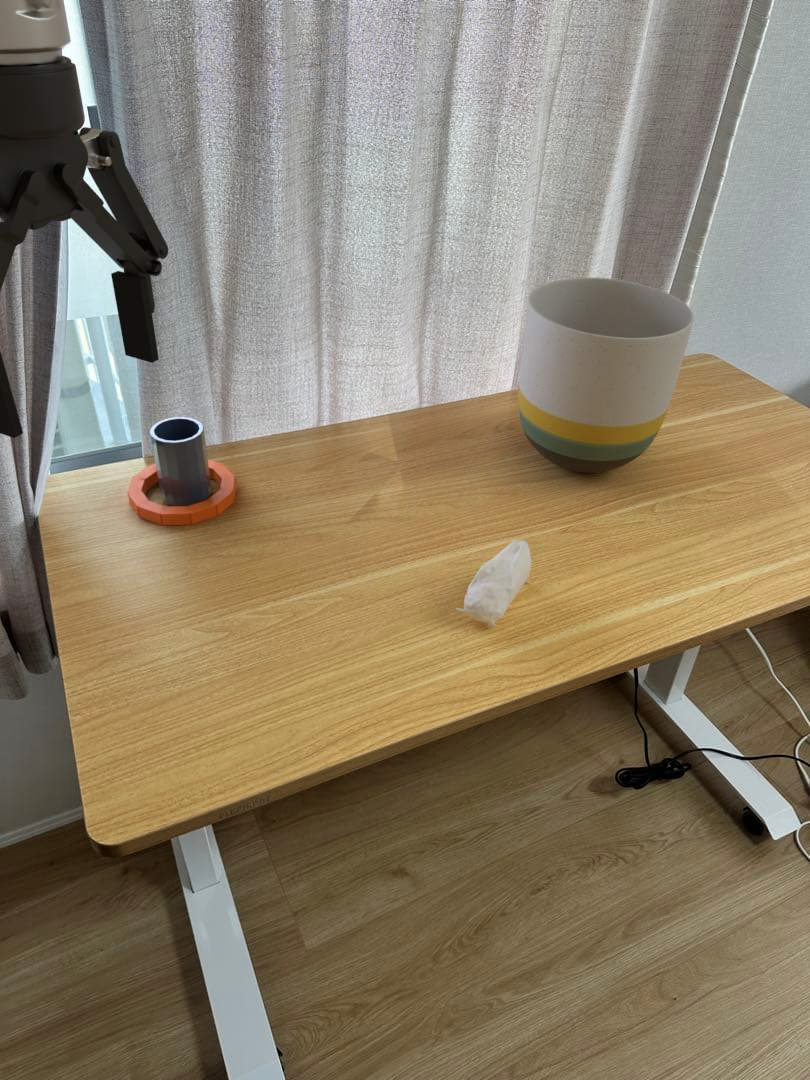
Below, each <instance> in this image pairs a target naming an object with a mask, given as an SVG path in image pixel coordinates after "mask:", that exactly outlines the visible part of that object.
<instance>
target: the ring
mask: <svg viewBox="0 0 810 1080" xmlns="http://www.w3.org/2000/svg"><path fill="white" fill-rule="evenodd" d="M208 465H209V473H210V480H211V479H212V480H215V482H216V483H217V484H218V485H219V486H220V487H219V489H218V490H217V491H216V492H215V493H214V494H213V495H211V496H210V497H209V498H208V499H207V500H206V501H202V502H199V503H196V504H193V505H190V506H170V505H167V506H166V505H163V504H160V503H157V502H154V501H152V500H149V499H148V498H147V496H146V494H147V491H148V490H149V489H151V488H152V487H153V486H154V485H156V484H157V483H159V481H158V475H157V469H156V463H152V464H150V465H148V466H147V467H145V468H144V469H142V470H141V471H140V472H138V473H137V474H135V475H134V476H132V478H131V481H130V483H129V487H128V490H127V492H126V493H127V498H128V503H129V505H130V506H131V508H132V509H133V511H134V512H135V514H136V515H137V517H139V518H140V519H143V520H146V521H148V522H152V523H154V524H156V525H157V524H158V525H161V526H190V525H195V524H198V523H200V522H204V521H207V520H209V519H212V518H216V517H217V516H219V515H221V514H222V513H223V512H224V511H226V510H227V509H228V508H229V507H230V506H231V505H233V504H234V502H235V499H236V491H237V483H236V476H235V475H234V474H233V473H232V471H231V470H230V469H229V468H228V467H227V466H226V465H225V464H223V463H221V462H218V461H214V460H211V459H208Z"/></svg>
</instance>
